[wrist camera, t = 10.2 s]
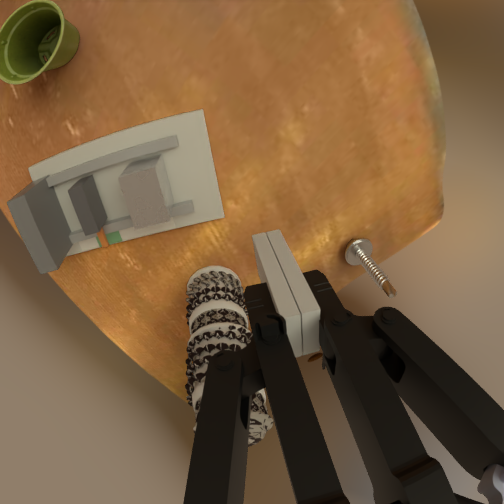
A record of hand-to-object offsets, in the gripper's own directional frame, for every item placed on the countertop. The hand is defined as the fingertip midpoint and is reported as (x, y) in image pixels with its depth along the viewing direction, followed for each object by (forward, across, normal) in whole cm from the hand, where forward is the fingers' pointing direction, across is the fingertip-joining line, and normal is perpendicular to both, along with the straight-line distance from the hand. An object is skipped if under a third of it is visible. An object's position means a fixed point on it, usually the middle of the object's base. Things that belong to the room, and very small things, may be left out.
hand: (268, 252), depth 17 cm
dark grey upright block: (+20, -18, -2) cm, 27 cm away
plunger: (+20, -10, 0) cm, 22 cm away
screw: (+22, +17, -17) cm, 33 cm away
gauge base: (+22, -14, 0) cm, 26 cm away
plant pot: (+22, -18, +21) cm, 35 cm away
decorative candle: (+22, -6, -19) cm, 30 cm away
